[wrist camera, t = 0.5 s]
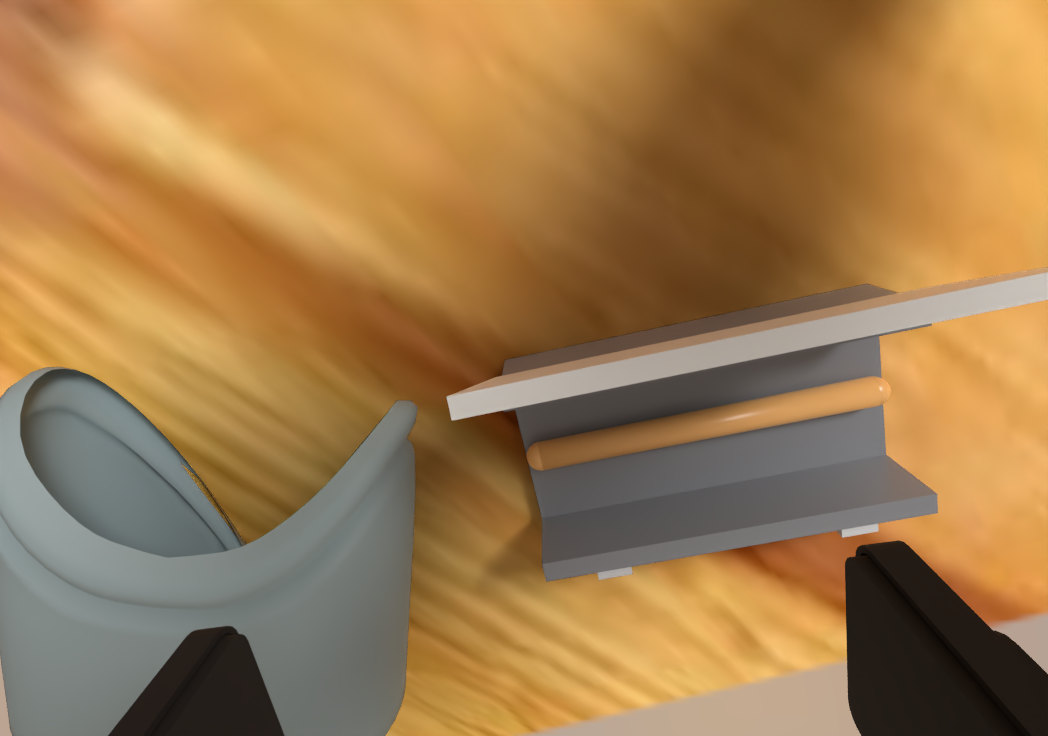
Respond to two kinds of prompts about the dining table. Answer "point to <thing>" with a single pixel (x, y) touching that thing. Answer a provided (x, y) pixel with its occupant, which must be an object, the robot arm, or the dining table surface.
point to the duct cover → (752, 342)
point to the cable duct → (715, 450)
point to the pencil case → (190, 569)
